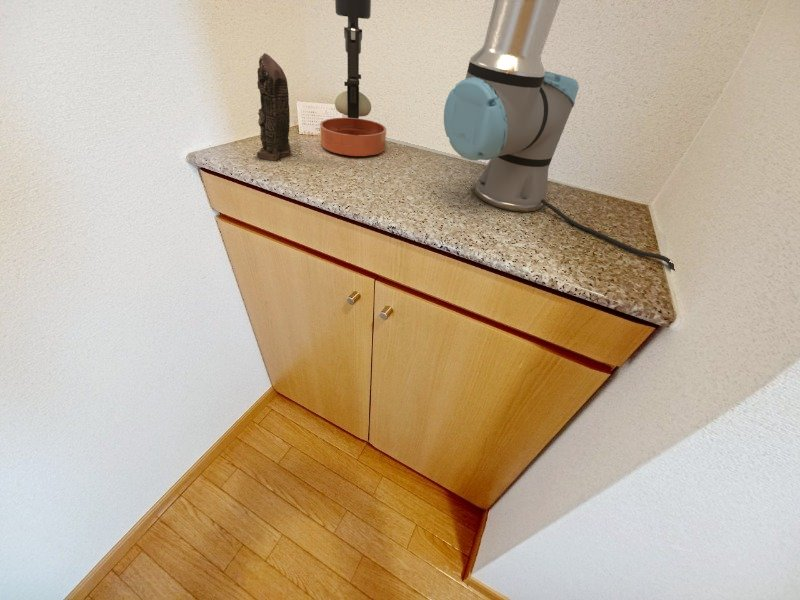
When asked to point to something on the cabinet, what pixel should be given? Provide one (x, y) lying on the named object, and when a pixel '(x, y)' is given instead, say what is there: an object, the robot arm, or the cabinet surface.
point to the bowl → (353, 136)
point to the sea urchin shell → (342, 107)
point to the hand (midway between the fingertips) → (353, 112)
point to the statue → (273, 110)
